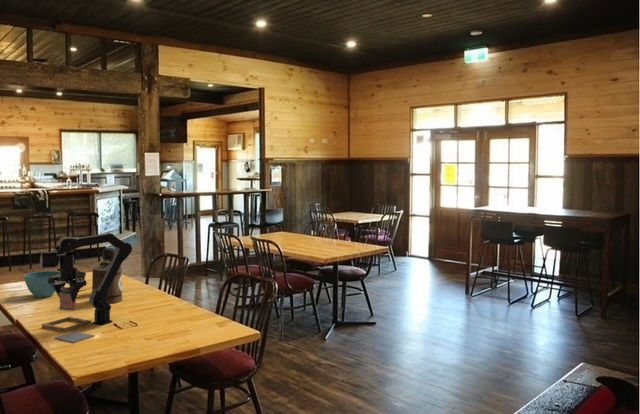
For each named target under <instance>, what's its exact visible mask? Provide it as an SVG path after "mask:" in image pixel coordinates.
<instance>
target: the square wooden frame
mask: <svg viewBox="0 0 640 414" xmlns="http://www.w3.org/2000/svg"><path fill="white" fill-rule="evenodd" d="M66 322H74V323H76V324H73V325H70V326H66V327H62V326H56V325H59V324H62V323H66ZM86 325H87V326H90V325H92V320H89V319H83V318H78V317H74V316H68V317H64V318H61V319H56V320H53V321H50V322H46V323H42V324H41V328H42V329H46V330H49V331H50V330H51V331H56V332H60V333H67V332H69V331H73V330H76V329H79V328H83V327H86Z"/></svg>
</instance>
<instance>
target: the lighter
mask: <svg viewBox="0 0 640 414" xmlns="http://www.w3.org/2000/svg"><path fill="white" fill-rule="evenodd" d="M69 287H70V286H68V287H66V286H64V287H61V290H63V292H59V295H60V298H59V310H61V311H68V312H73V311H77V306H76V304H77V303H76V301H75V302H72V299H71V296H70V292H69V289H68V288H69Z"/></svg>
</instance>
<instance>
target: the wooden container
mask: <svg viewBox="0 0 640 414" xmlns="http://www.w3.org/2000/svg"><path fill="white" fill-rule="evenodd" d="M103 261H104V260H103ZM109 266H110V261H109V260H105V261H104V265H103V266H99V265H97V266H94V267H93V268H92V270H91V271H92V274H91V275H92V276H91V277H92V287H91V291H92V290H93V288H94V289H95V290H96V289H97V288H98V287H99V286H100V284H101V282H102V280H103V278H104V276H105V274H106V272H107V270H108V268H109ZM122 270H123V268H122V265H121V266H120V268H119V270H118V272H117V274H116V276H115V278H114V280H113V282H112V284H111V286H110V288H109V290H108V297H107V301H106V303H108V304H109V305H111V304H112V305H113V304H117V303H120V302H122V301H123V283H122V282H123V280H122V278H123V277H122V273H123V272H122Z"/></svg>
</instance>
